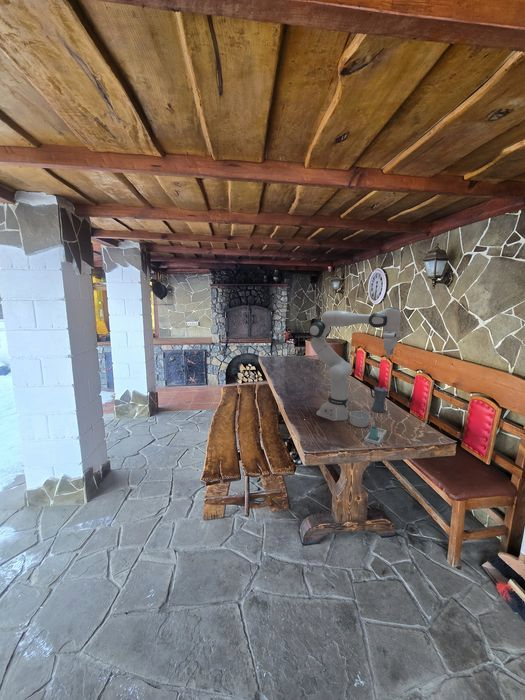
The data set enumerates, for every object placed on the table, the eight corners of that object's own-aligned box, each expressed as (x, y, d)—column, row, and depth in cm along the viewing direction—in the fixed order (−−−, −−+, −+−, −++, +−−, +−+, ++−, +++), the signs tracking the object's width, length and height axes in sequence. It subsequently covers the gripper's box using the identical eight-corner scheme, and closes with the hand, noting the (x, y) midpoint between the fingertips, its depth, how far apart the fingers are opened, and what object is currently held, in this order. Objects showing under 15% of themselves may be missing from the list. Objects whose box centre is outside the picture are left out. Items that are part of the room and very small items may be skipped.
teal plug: (369, 440, 164) (370, 426, 162) (370, 438, 167) (372, 424, 165) (375, 442, 162) (376, 428, 160) (377, 440, 165) (378, 426, 163)
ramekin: (353, 418, 197) (353, 409, 196) (372, 423, 189) (372, 414, 187) (345, 424, 187) (346, 414, 186) (365, 430, 178) (366, 420, 177)
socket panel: (364, 441, 163) (364, 438, 163) (373, 429, 179) (373, 426, 179) (378, 445, 159) (379, 442, 158) (386, 433, 175) (386, 430, 175)
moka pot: (384, 415, 204) (386, 388, 201) (365, 408, 216) (366, 383, 212) (390, 412, 210) (392, 386, 207) (371, 406, 222) (373, 381, 218)
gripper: (389, 332, 183) (387, 353, 185) (382, 334, 166) (380, 357, 169) (400, 332, 179) (398, 354, 181) (393, 335, 163) (391, 358, 165)
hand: (389, 355), depth 175 cm, fingers open, 8 cm apart
